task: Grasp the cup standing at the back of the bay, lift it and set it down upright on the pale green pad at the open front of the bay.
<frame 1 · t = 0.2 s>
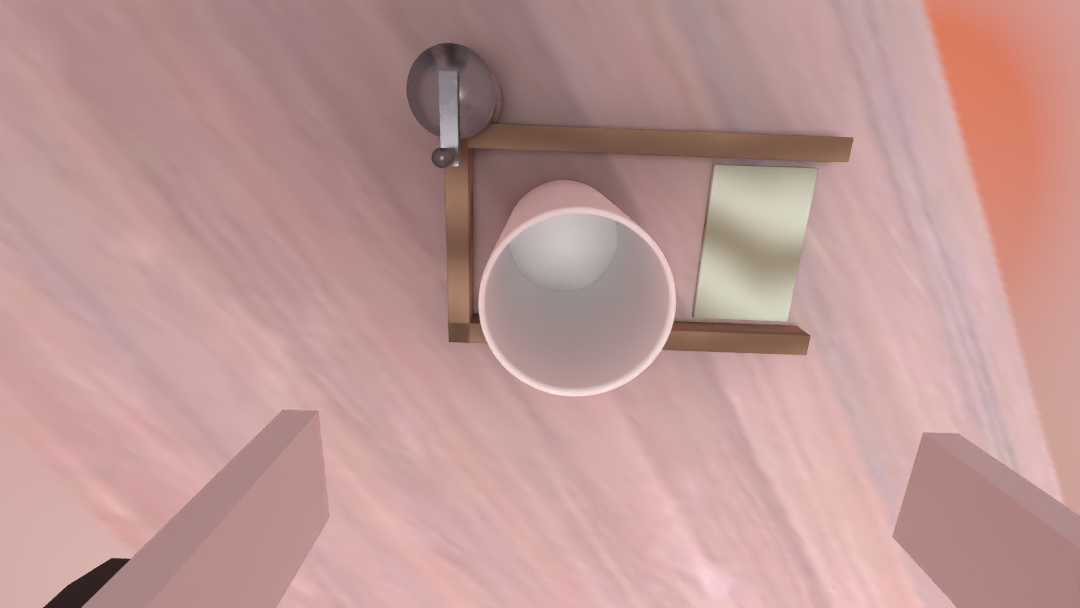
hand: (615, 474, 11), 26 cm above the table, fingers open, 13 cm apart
bay: (632, 241, 36), on the table
cup: (563, 238, 36), resting in bay
winch drum: (464, 99, 33), on the table
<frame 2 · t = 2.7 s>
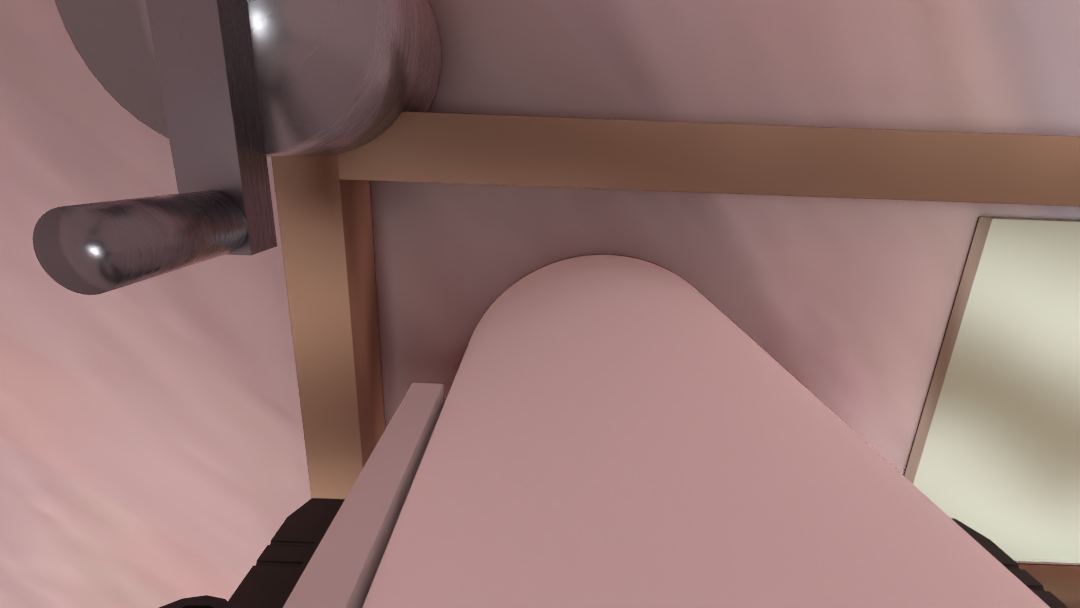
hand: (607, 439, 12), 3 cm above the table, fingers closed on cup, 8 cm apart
bay: (761, 393, 15), on the table
cup: (597, 385, 15), resting in bay, touching gripper
winch drum: (341, 50, 12), on the table
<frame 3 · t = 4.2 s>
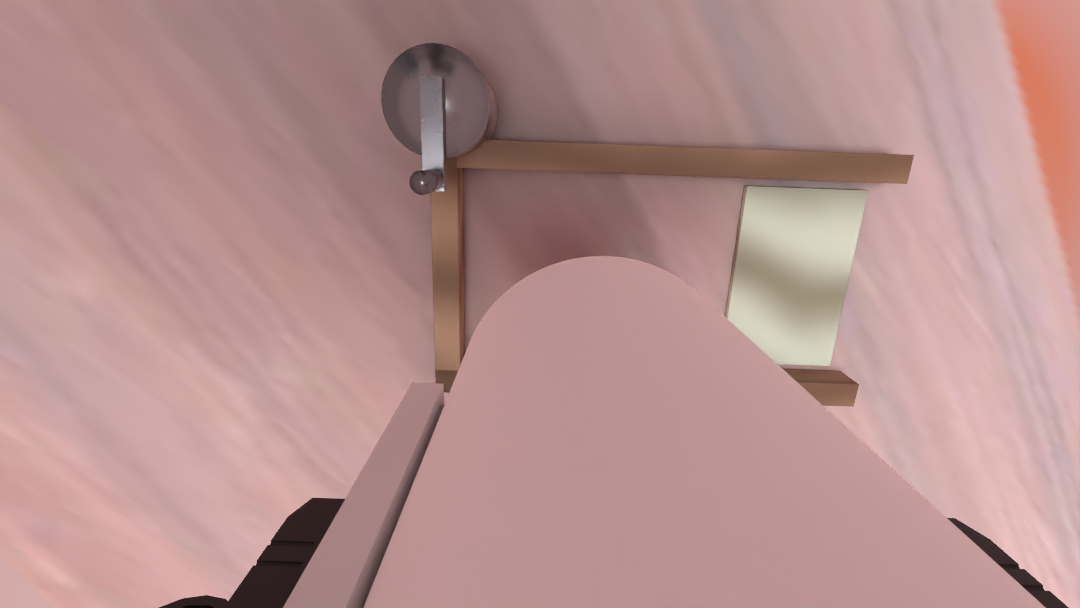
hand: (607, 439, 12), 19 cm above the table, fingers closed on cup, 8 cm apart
bay: (650, 274, 31), on the table
cup: (596, 385, 15), point 16 cm above the table, touching gripper
winch drum: (453, 111, 28), on the table
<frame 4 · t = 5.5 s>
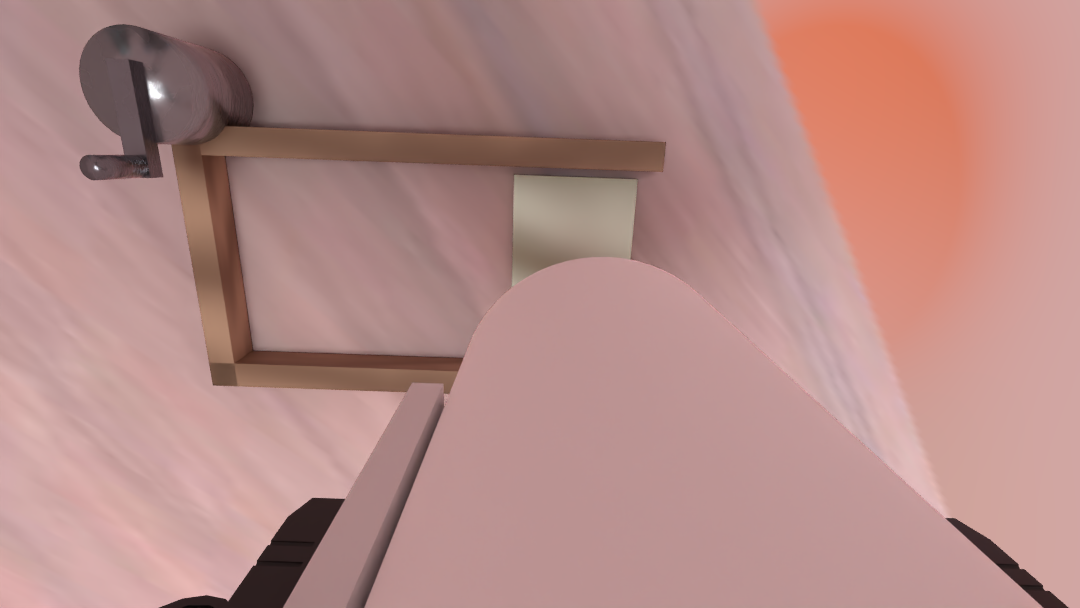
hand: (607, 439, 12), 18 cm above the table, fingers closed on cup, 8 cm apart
bay: (429, 265, 30), on the table
cup: (596, 386, 15), point 15 cm above the table, touching gripper
winch drum: (207, 97, 27), on the table
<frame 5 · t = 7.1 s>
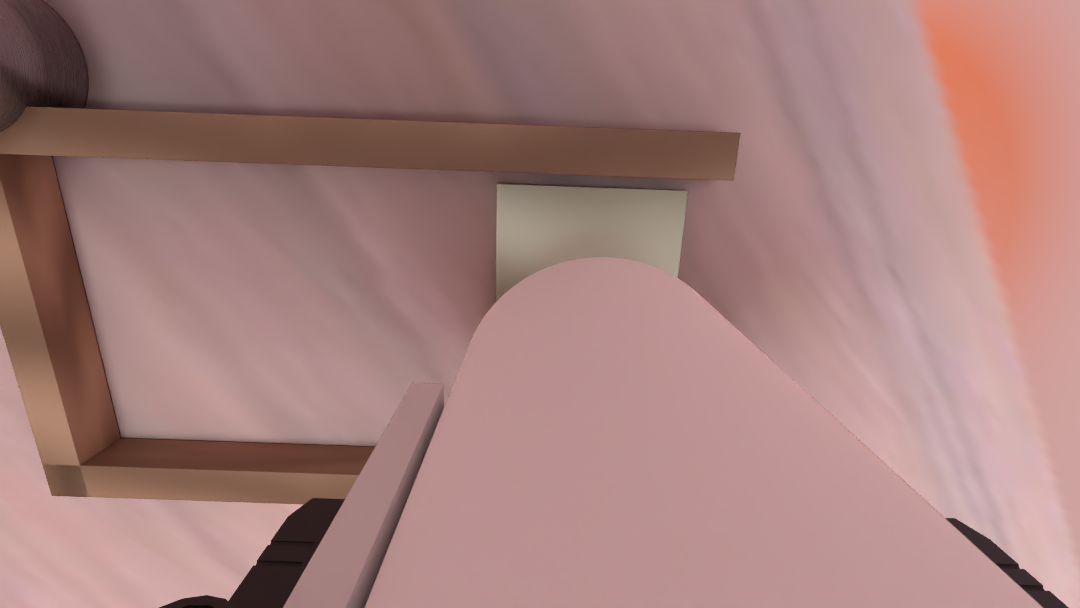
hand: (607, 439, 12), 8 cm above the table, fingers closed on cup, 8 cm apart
bay: (373, 318, 20), on the table
cup: (596, 387, 15), point 5 cm above the table, touching gripper
winch drum: (14, 63, 17), on the table
when the fingers open (5 cm above the table, at t = 8.2 s): cup drops 2 cm, resting on bay.
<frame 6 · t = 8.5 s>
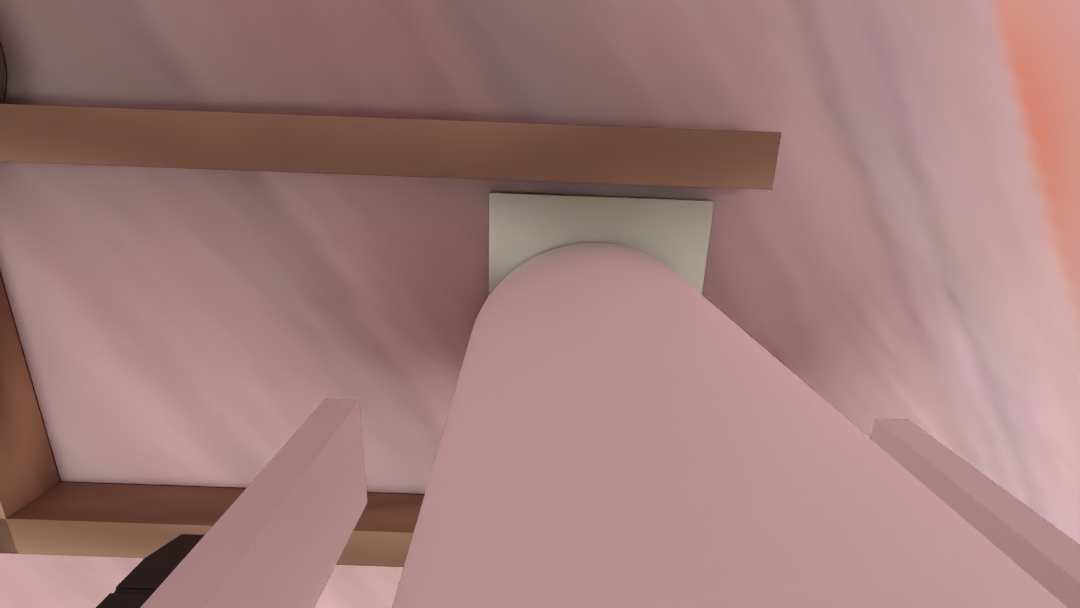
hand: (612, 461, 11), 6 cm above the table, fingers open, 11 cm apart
bay: (346, 347, 17), on the table
cup: (589, 359, 17), resting on bay
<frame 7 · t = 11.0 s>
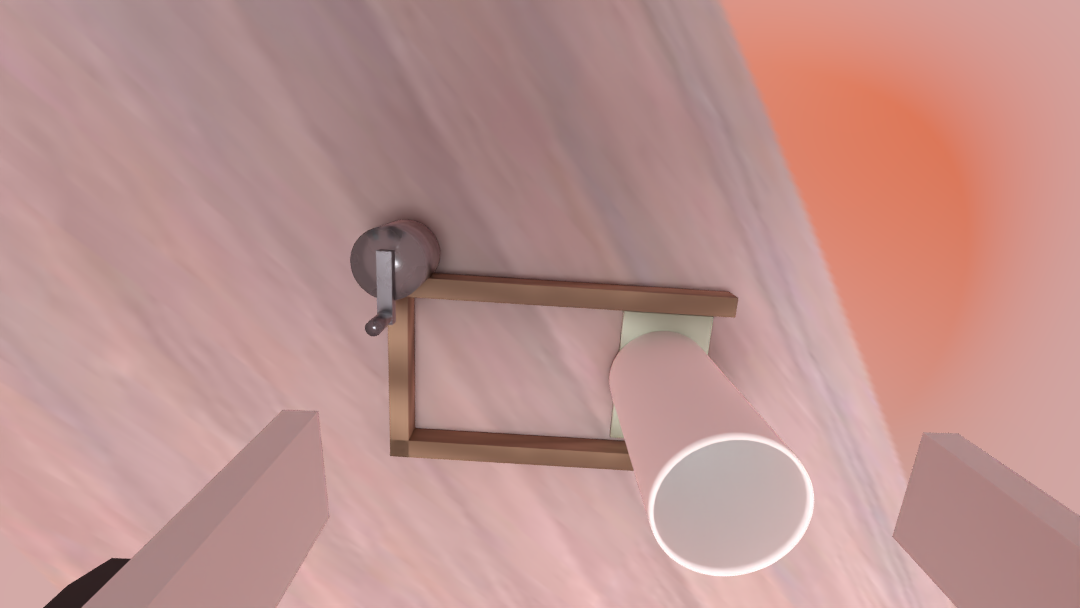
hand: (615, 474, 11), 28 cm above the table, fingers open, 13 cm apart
bay: (555, 370, 40), on the table
cup: (659, 377, 40), resting on bay
winch drum: (407, 252, 38), on the table
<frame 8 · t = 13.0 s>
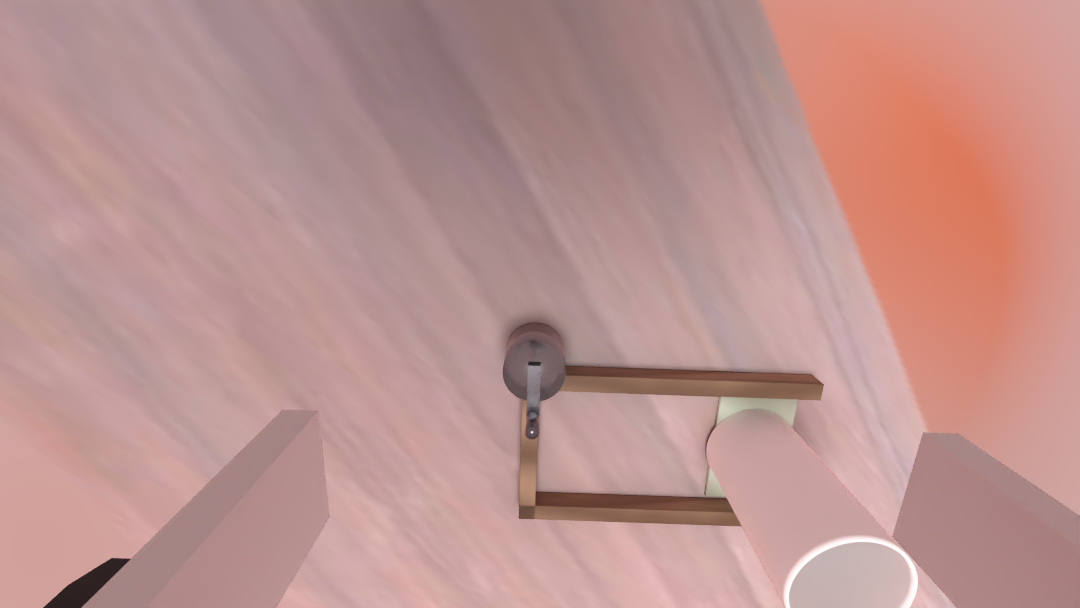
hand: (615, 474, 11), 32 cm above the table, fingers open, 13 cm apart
bay: (659, 442, 47), on the table
cup: (749, 446, 47), resting on bay
winch drum: (535, 349, 44), on the table
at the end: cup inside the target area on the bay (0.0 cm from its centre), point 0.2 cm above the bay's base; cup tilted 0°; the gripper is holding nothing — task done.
